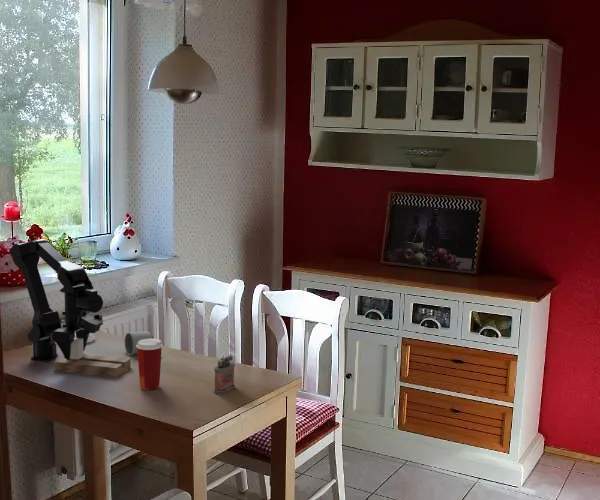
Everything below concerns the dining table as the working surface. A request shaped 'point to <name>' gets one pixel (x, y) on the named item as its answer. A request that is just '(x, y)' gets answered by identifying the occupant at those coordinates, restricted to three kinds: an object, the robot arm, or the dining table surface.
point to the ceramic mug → (135, 341)
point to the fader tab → (77, 349)
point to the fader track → (94, 365)
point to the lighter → (224, 375)
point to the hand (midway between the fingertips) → (75, 355)
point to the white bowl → (90, 338)
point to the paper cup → (149, 363)
